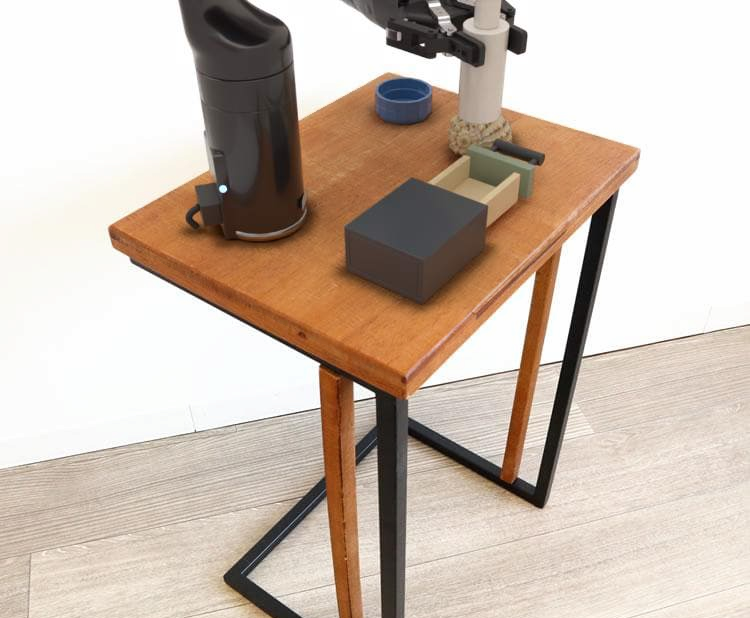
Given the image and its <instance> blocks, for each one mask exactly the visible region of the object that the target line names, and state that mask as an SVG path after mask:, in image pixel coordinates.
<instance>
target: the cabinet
mask: <svg viewBox="0 0 750 618" xmlns="http://www.w3.org/2000/svg"><path fill="white" fill-rule="evenodd" d="M487 215H488V205H486V204H483V203H480V202H477V201H475V200H472V199H469V198H467V197H464V196H461V195H459V194H456V193H453V192H451V191H448V190H445V189H443V188H440V187H437V186H435V185H432V184H429V183H428V182H426V181H424V180H420V179H418V178H416V177H413V176H411V177H410V178H408V179H407V180H406V181H403V183H402V184H400V185H398V186H397V187H396V188H394V189H393V190H392V191H390V192H389V193H388V194H386V195H385V196H383V198H381V199H379V200H378V201H377V202H375V203H374V204H373V205H371V206H370V207H369V208H367V209H366V210H364V211H363V212H362V213H360V214H359V215H358V216H356V217H355V218H354V219H352V220H351V221H349V222H348V223H347V224H345V225H344V226H343V231H344V253H345V254H344V256H345V271H347V272H349V273H350V274H353V275H355V276H358V277H359V278H362V279H364V280H366V281H368V282H371V283H373V284H374V285H377V286H380V287H381V288H384V289H386V290H389V291H391V292H392V293H394V294H398V295H400V296H402V297H403V298H406V299H408V300H411V301H413V302H415V303H416V304H420V305H423V304H425V303H426V302H427V301H428V300H429V299H430V298H431V297H433V296H434V295H435V294H436V293H437V292H438V291H439V290H441V289H442V287H444V286H445V285H446V284H447V283H448V282H449V281H451V279H453V278H454V277H455V276H456V275H457V274H458V273H459V272H460V271H462V270H463V269H464V268H465V267H466V266H468V264H469V263H471V262H472V261H473V260H474V259H475V258H476V257H478V256H479V254H481V253H482V252H483V251H484V250H485V246H486V244H485V243H486V236H487V228H486V226H487Z"/></svg>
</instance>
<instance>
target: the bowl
mask: <svg viewBox="0 0 750 618" xmlns="http://www.w3.org/2000/svg"><path fill="white" fill-rule="evenodd" d="M433 90H434V88H433V86H432V85H430V83H429V82H428V81H425V80H423V79H420V78H415V77H409V76H408V77H405V76H403V77H401V76H400V77H393V78H388V79H385V80H383V81H381V82H379V83H378V84H377V85H376V86H375V89H374V110H375V112H376V113H377V115H378V116H379V118H381V119H382V120H383V121H386V122H388V123H391V124H398V125H409V124H410V125H411V124H415V123H420V122H421V121H423V120H426V118H427V117H428V116H429V115H430V114H431V113H432V111H433Z"/></svg>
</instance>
